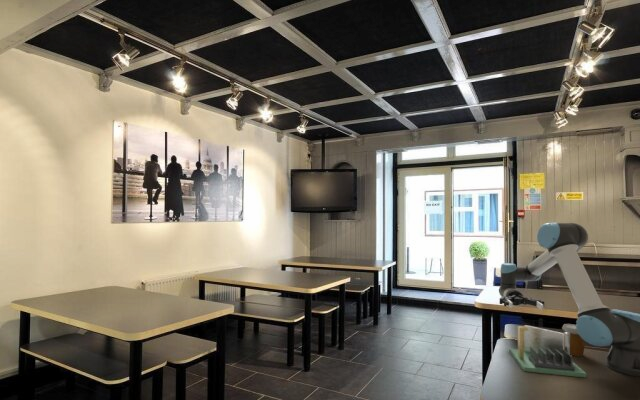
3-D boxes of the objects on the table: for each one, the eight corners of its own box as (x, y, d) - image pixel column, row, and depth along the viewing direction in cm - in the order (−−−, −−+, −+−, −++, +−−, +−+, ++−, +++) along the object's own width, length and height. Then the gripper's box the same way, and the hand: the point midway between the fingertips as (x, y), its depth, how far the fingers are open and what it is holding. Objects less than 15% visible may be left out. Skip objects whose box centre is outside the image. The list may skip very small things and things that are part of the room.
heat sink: (568, 360, 157) (568, 329, 157) (580, 371, 146) (580, 338, 147) (517, 356, 161) (517, 325, 162) (525, 366, 151) (525, 333, 151)
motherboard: (563, 356, 166) (563, 353, 166) (586, 377, 144) (586, 373, 144) (508, 351, 171) (508, 348, 171) (523, 370, 149) (523, 367, 149)
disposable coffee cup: (591, 358, 164) (591, 330, 165) (567, 356, 166) (567, 329, 167) (581, 350, 174) (581, 324, 174) (558, 349, 176) (558, 323, 176)
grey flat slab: (564, 359, 157) (564, 333, 158) (563, 360, 156) (562, 334, 157) (525, 349, 168) (525, 325, 169) (524, 350, 167) (524, 325, 168)
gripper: (539, 305, 191) (556, 317, 170) (487, 302, 196) (498, 312, 175) (539, 290, 191) (556, 300, 170) (488, 287, 196) (498, 296, 175)
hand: (526, 306), depth 173 cm, fingers open, 12 cm apart
